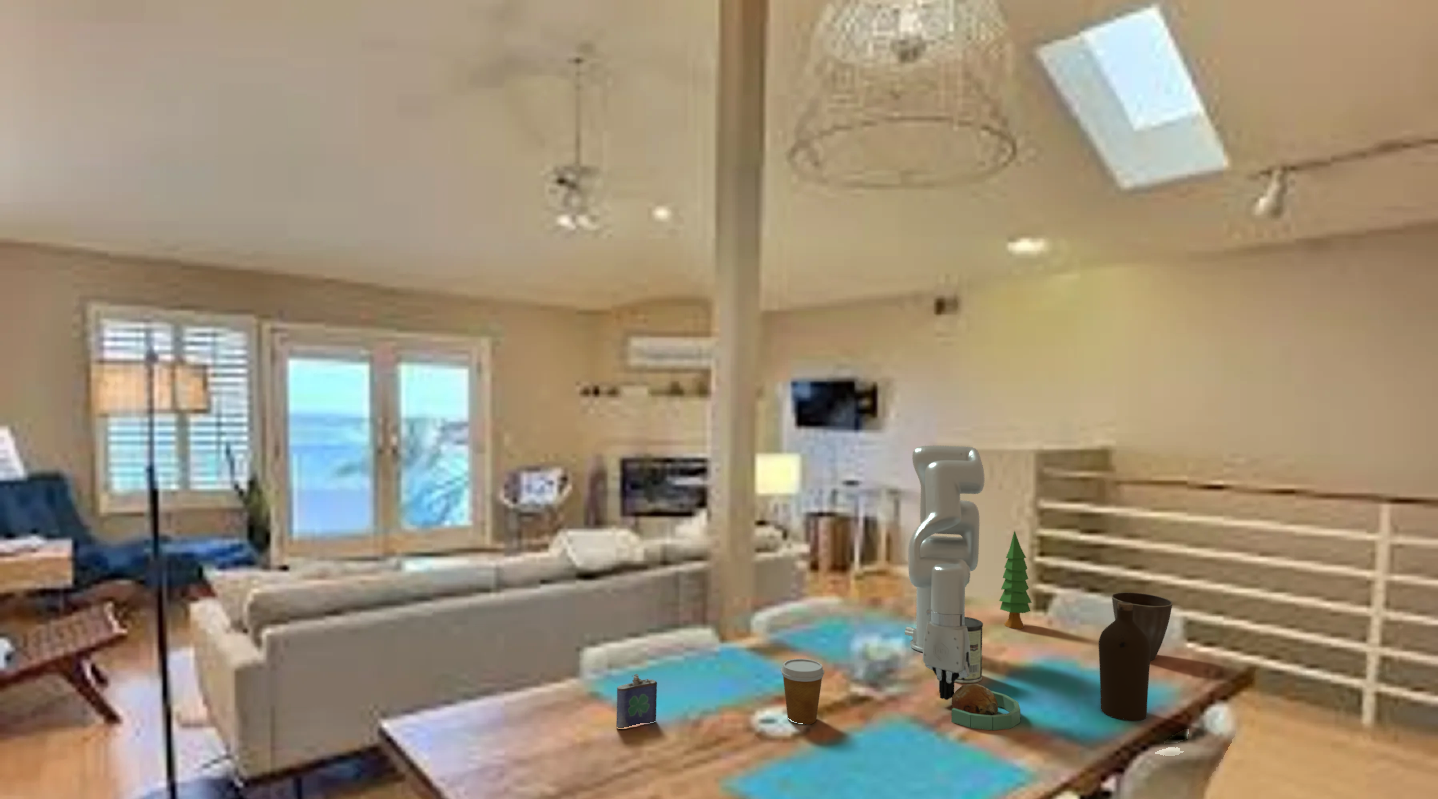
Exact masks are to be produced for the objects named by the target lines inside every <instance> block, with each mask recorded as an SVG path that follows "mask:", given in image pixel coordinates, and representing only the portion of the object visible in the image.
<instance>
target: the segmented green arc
mask: <svg viewBox="0 0 1438 799" xmlns="http://www.w3.org/2000/svg"><path fill="white" fill-rule="evenodd" d="M990 691H991V692H992V693H993V694H994V696H995V698H996V700H997V703H998V708H1002V709H1004V710H1005V711H1007V713H1002V714H999V713H998V714H996V715H983V714H973V713H969V712H965V711H962V710H959V709H955V708H953V709H952V708H951V721H950V722H951V723H953V724H957V725H960V726H963V727H966V728H969V729H977V730H986V731H997V730H1000V731H1001V730H1007V729H1008V730H1009V729H1012V728H1014V727H1015V726H1017V725H1018V724H1020V723H1021V708H1020V703H1019V702H1018V701H1017V700H1016V699H1014V698H1012V697H1010V696H1008V695H1007V694H1005V693H1001V692H997V691H994V690H990Z"/></svg>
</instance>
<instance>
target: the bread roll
mask: <svg viewBox="0 0 1438 799" xmlns="http://www.w3.org/2000/svg"><path fill="white" fill-rule="evenodd" d="M991 691H992V690H990V689H989V688H988V687H985V686H983V685H981V684H978V683H969V684H964V685H961V686H960V687H958V689H957V690H955V691H954V694H953V696H952V698H951V710H952V709H953V708H955V709H959V710H962V711H965V712H969V713H973V714H983V715H998V712H999V707H998V703H997V700H996V698H995V696H994V694H993V693H992V692H991Z"/></svg>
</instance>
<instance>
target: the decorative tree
mask: <svg viewBox="0 0 1438 799" xmlns="http://www.w3.org/2000/svg"><path fill="white" fill-rule="evenodd" d="M1026 558H1027V557H1026V555H1025V553H1024V551H1023V549H1022V546H1021V544H1020V542H1019V538H1018V536H1017V533H1016V531H1015V530H1014V532H1013V534H1012V538H1011V542H1010V545H1009V549H1008V552H1007V554H1006V556H1005V559H1006V562H1005V565H1004V573H1003V577H1002V578H1003V579H1004V581H1003V584H1002V585H1001V590H1003V592H1002V593H1001V596H1000V599H999V600H998V601H999V602H1001V604H1000V608H999V610H1001V611H1004V612H1007V613H1009V614H1008V619H1007V620H1006V621H1005V622H1004V623H1003V625H1004V626H1005V627H1007V628H1009V629H1010V628H1011V629H1017V630H1022V629H1023V628H1024V626H1025V625H1024V623H1023V621H1022V618H1021V614H1026V613H1028V612H1031V608H1030V605H1029V604H1031V603H1032V600H1031V598H1030V597H1029V594H1028V592H1027V591H1028V590H1029V589H1030V587H1029V584H1028V583H1027V580H1029V577H1028V573H1027V570H1028V567H1027V566H1028V565H1027V564H1026V563H1027V562H1026V560H1025V559H1026Z"/></svg>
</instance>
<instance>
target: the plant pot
mask: <svg viewBox="0 0 1438 799" xmlns="http://www.w3.org/2000/svg"><path fill="white" fill-rule="evenodd" d="M1111 602H1112V609H1113V615H1114V621H1115V620H1116V618H1117V608H1118V606H1117V603H1118V602H1129V603H1132V604H1133V607H1132V610H1133V621H1134V622H1135V624H1136V625H1137V626H1138V627H1139V628H1140V629H1141V630H1142V631H1143V632H1144V634H1145V635H1146V636H1147V638H1148V640H1149V643H1150V647H1151V656H1150V661H1154V660H1155V659H1156V657H1157V655H1158V653H1159V651H1160V649H1161V646H1162V644H1163V641H1164V638H1165V635H1166V633H1167V629H1168V626H1169V622H1170V618H1171V614H1172V608H1173V602H1172V600H1170V599H1168V598H1165V597H1164V596H1163V597H1162V596H1158V595H1155V594H1147V593H1140V592H1124V591H1123V592H1115V593H1113V594H1111Z"/></svg>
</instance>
